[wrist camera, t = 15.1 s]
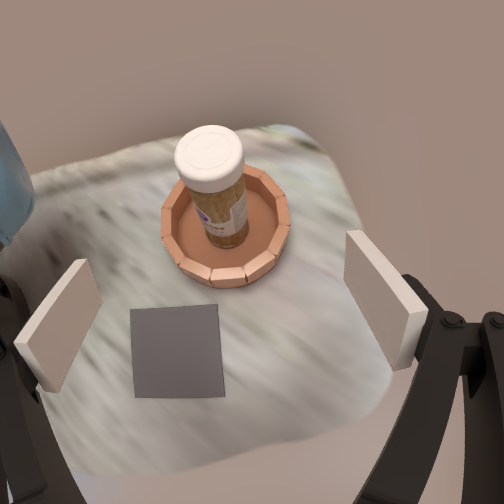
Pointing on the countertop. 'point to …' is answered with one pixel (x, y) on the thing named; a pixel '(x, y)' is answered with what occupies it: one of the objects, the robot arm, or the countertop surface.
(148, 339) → the rubber mat
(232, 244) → the sprinkles bottle
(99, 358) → the countertop surface
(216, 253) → the terracotta bowl
